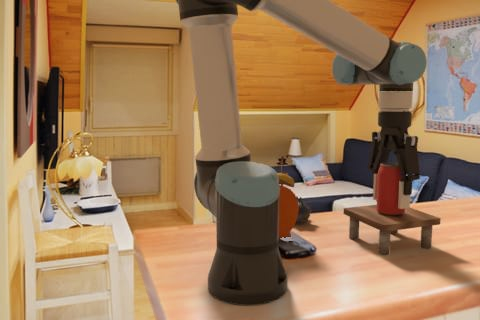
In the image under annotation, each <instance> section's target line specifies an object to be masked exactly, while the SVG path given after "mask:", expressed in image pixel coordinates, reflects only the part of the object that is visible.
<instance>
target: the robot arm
mask: <svg viewBox="0 0 480 320" xmlns="http://www.w3.org/2000/svg"><path fill="white" fill-rule="evenodd" d="M175 2H176V4H177V5H178V13H179V21H180V24H181V25H182V26H184V27H185V28H186V29H187V31H188V35H189V42H190V52H191V60H192V61H191V62H192V69H193V70H192V71H193V78H194V79H193V80H194V90H195V98H196V99H195V100H196V108H197V118H198V129H199V136H200V150H199V151H198V152H197V153H196V155H195V156H194V159H195V166H196V168H195V169H196V172H195V175H194V178H193V180H194V181H193V188H194V192H195V196H196V199H197V200H198V201H199V203H200V204H201V205H202V206H203V208H205V209H206V210H208V211H209V212H210V213H211V215H213V216H214V217H215V219H216V223H215V224H216V249H215V254H214V256H213V259H212V263H211V266H210V268H209V269H210V270H209V273H208V276H207V290H208V293H209V294H210V295H211V296H212V297H214V298H215V299H217V300H220V301H222V302H225V303H227V304H232V305H241V306H242V305H244V306H248V305H249V306H252V305H256V306H257V305H262V304H267V303H271V302H272V303H273V302H274V301H277V300H279V299H280V298H282V297H283V296H284V295H285V294H286V293H287V291H288V276H287V272H286V269H285V265H284V262H283V260H282V256H281V253H280V250H279V239H278V233H279V194H280V187H279V185H280V182H279V178H278V174H277V173H278V172H277V171H276V170H275V169H274V168H273V167H271V166H269V165H267V164H266V163H263V164H261V163H257V162H255V161H252V159H251V151H250V150H249V149H248V148H247V147H245V145H243V142H242V140H243V139H242V131H241V130H242V127H241V120H240V119H241V118H240V106H239V96H238V95H239V94H238V85H237V74H236V73H237V71H236V63H235V51H234V41H233V39H234V38H233V30H232V27H233V25H234V24H235V23H236V21H237V20H238V19H239V12H238V6H240V7H242V8H244V9H245V10H246V11H247V10H248V11H249V12H254V11H258V10H259V11H260V12H263V13H265V14H267V15H268V16H270V17H271V18H274V19H275V20H277V21H279V22H280V23H282V24H284V25H286V26H287V27H289V28H291V29H293V30H294V31H296V32H297V33H300V34H301V35H303V36H305V37H307V38H309V39H310V40H312V41H314V42H316V43H317V44H318V45H320V46H323V47H324V48H326V49H327V50H329V51H332V52H333V53H335V56H334V59H333V61H332V64H331V65H332V69H331V70H332V75H333V77H332V78H334V80H335V82H336V83H337V84H339V85H348V86H353V85H357V86H360V85H361V86H363V85H368V86H369V85H376V86H377V85H379V87H378V88H379V90H378V107H377V108H378V109H380V110H379V112H378V113H377V114H378V116H377V125H378V126H379V127H381V128H380V131H372V133H371V145H370V150H369V151H370V152H369V157H368V160H367V161H368V162H367V170H370V171H371V172H372V186H373V187H372V188H373V189H372V190H373V191H372V200H374V201H375V200H376V201H377V180H378V170H379V168H380V166H381V165H380V164H381V163H387V160H388V159H389V156H390V153H391V152H392V153H393V154H394V155H395V157H396V161H397V162H396V163H398V165H399V169H400V173H401V177H402V179H401V180H400V181H399V198H398V208H399V209H404V208H411V207H410V205H411V195H412V191H413V182H414V181H416V180H420V178H421V173H420V165H419V155H418V152H419V151H418V142H419V136H416V135H411V134H409V131H408V130H409V128H410V127H411V126H412V116H413V113H412V111H410V110H412V108H413V96H414V95H413V91H414V83H415V82H417V81H419V80H420V79H421V78H422V77H423V75H425V72H426V69H427V63H428V62H427V60H428V59H427V55H426V53H425V51H424V49H423V48H422V47H421V46H419V45H417V44H415V43H411V42H406V41H403V42H402V41H401V42H400V41H398V42H397V41H395V40H394V39H392V38H390V37H389V36H387V35H386V34H384V33H383V32H381V31H379V30H378V29H376V28H374V27H373V26H371V25H370V24H368V23H366V22H365V21H363V20H362V19H360V18H359V17H357V16H355V15H353V14H352V13H350V12H349V11H347V10H346V9H344V8H343V7H341V6H339V5H338V4H336V3H334V2H333V1H331V0H175Z"/></svg>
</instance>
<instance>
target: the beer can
mask: <svg viewBox="0 0 480 320" xmlns="http://www.w3.org/2000/svg"><path fill="white" fill-rule="evenodd" d="M380 165H381V166H380V168H379V170H378V180H377V200H376V205H377V211H378V212H379V213H381V214H384V215H390V216H397V215H402V214H403V213H404V212H405V208H404V209H399V208H398V198H399V181H400V180H401V179H402V177H401V173H400V169H399V165H398V162H386V163H381V164H380Z"/></svg>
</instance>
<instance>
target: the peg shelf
mask: <svg viewBox="0 0 480 320" xmlns="http://www.w3.org/2000/svg"><path fill="white" fill-rule="evenodd" d="M342 213H343V215H344V216H347V217H349V225H348V228H349V230H348V238H349V239H350V240H359V239H360V223H362V224H365V225H367V226H370V227H372V228H373V229H376V230H379V233H378V234H379V235H378V237H379V238H378V254H379V255H380V256H389V255H390V253H391V251H390V248H391V235H398V234H399V231H401V230H407V229H408V230H409V229H417V228H421V229H420V244H419V245H420V246H419V247H420V248H422V249H425V250H431V249H432V242H433V241H432V239H433V226H437V225H441V218H442V217H441V218H440V217H439V216H434V215H433V214H429V213H426V212H423V211H420V210H418V209H415V208H412V207H410V208H405V212H404V213H403V214H402V215H397V216H390V215H384V214H381V213H379V212H378V211H377V204H370V205H361V206H352V207H344V208H343V212H342Z"/></svg>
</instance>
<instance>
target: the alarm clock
mask: <svg viewBox="0 0 480 320" xmlns="http://www.w3.org/2000/svg"><path fill="white" fill-rule="evenodd" d="M271 163H273V161H270V162H268V164H271ZM277 163H280V170H281V171H280V172H277V174H278V178H279V187H280V194H279V233H278V240H279V239H280V238H282V237H284V238H286V237H291V236H292V235H291V234H292V233H291V231H292V230H293V228H294V227H295V225H296V223H297V222H296V220H297V218H298V211H299V207H298V200H297V198H296V196H297V195H296V193H294V192H293V190H291V189H290V188H288V187H291V188H295V180H294V178H293V177H291V176H290V175H289V173H288V172H286V173H284V172H283V166H282V165H283V164H282V161H281V160H280V161H278V160H277ZM260 164H264V162H263V163H262V162H261V163H260ZM286 186H287V187H286Z"/></svg>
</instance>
